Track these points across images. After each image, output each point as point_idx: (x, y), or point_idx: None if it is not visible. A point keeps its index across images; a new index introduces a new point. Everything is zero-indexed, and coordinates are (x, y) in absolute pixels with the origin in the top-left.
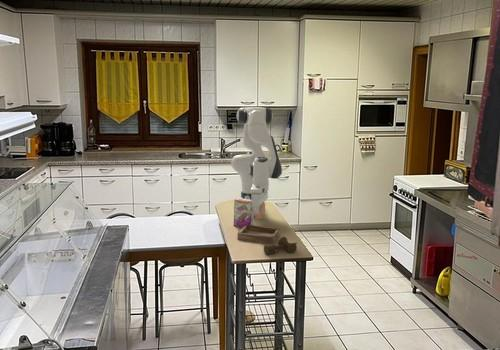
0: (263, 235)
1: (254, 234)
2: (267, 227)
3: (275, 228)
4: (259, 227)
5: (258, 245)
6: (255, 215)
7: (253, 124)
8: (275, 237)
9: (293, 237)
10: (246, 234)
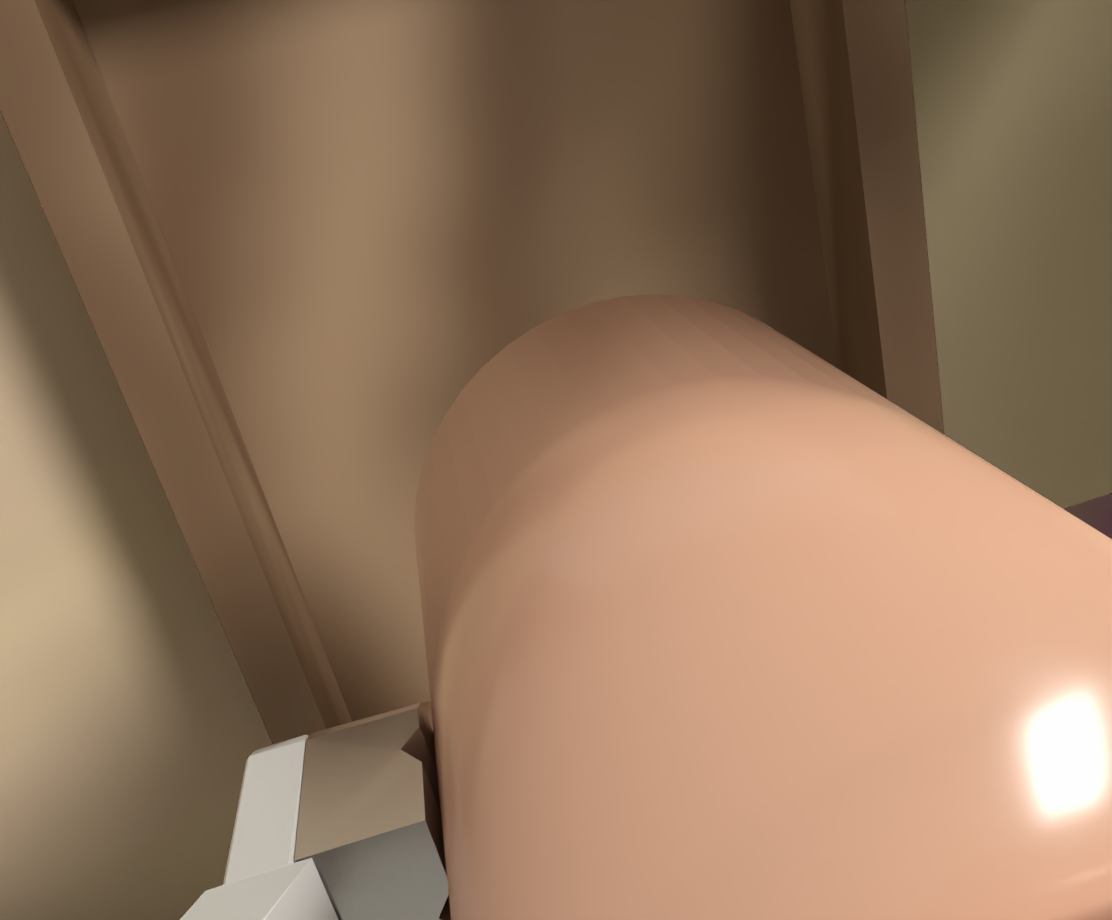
0: None
1: (504, 199)
2: (918, 377)
3: None
4: (854, 169)
5: (36, 595)
6: (445, 474)
7: None
8: None
9: None
10: (45, 207)
